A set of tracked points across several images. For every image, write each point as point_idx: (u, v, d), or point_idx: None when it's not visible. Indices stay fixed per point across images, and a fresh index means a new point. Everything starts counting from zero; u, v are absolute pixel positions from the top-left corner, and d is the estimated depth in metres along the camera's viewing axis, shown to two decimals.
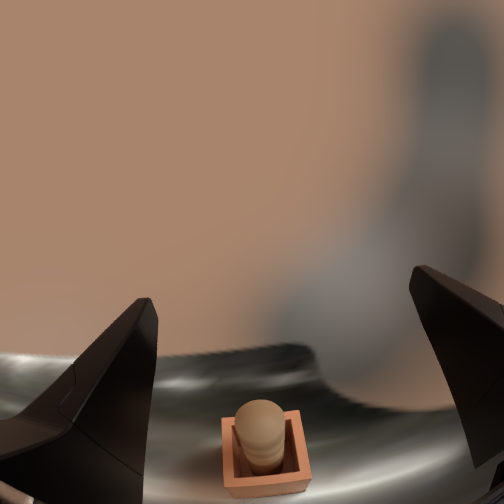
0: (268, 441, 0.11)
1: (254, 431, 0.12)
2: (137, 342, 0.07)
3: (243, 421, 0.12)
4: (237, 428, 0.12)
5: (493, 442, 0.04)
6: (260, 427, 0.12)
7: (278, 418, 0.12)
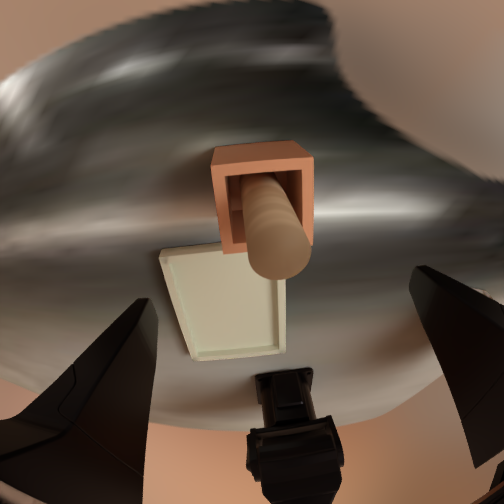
0: (287, 276, 0.12)
1: (272, 268, 0.11)
2: (137, 342, 0.07)
3: (259, 255, 0.11)
4: (252, 264, 0.11)
5: (493, 442, 0.04)
6: (280, 263, 0.11)
7: (303, 252, 0.11)
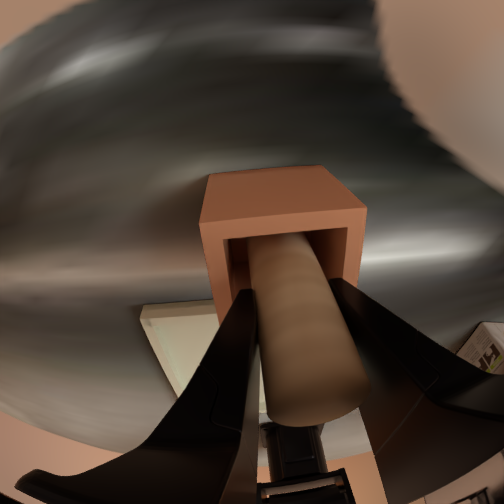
0: (324, 418, 0.06)
1: (305, 417, 0.06)
2: (256, 334, 0.07)
3: (286, 408, 0.06)
4: (272, 417, 0.06)
5: (403, 489, 0.04)
6: (318, 412, 0.06)
7: (357, 396, 0.06)
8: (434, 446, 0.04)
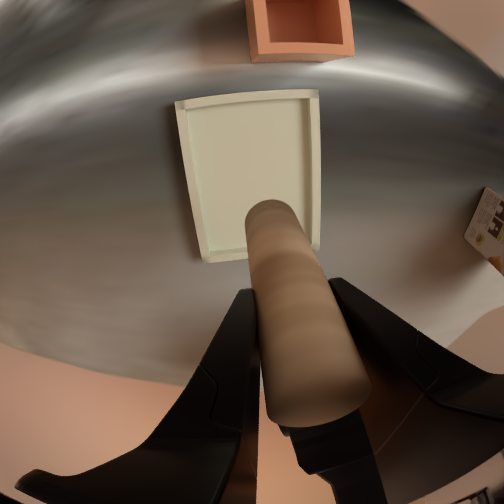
0: (325, 418, 0.06)
1: (306, 417, 0.06)
2: (256, 334, 0.07)
3: (286, 408, 0.06)
4: (273, 418, 0.06)
5: (403, 489, 0.04)
6: (319, 412, 0.06)
7: (357, 396, 0.06)
8: (434, 446, 0.04)
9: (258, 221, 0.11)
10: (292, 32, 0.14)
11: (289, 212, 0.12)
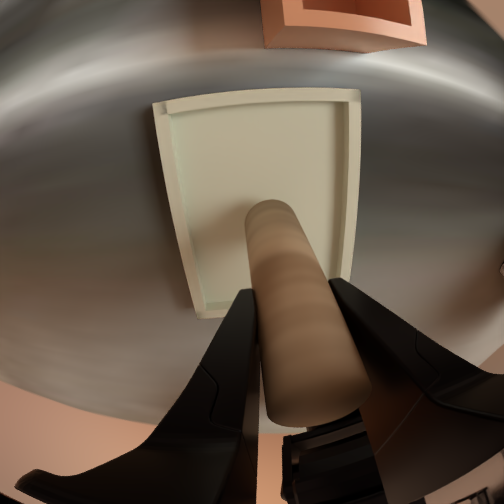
0: (325, 419, 0.06)
1: (306, 418, 0.06)
2: (256, 334, 0.07)
3: (286, 409, 0.06)
4: (273, 418, 0.06)
5: (403, 490, 0.04)
6: (318, 413, 0.06)
7: (357, 397, 0.06)
8: (434, 446, 0.04)
9: (258, 221, 0.11)
10: (323, 8, 0.09)
11: (289, 212, 0.12)
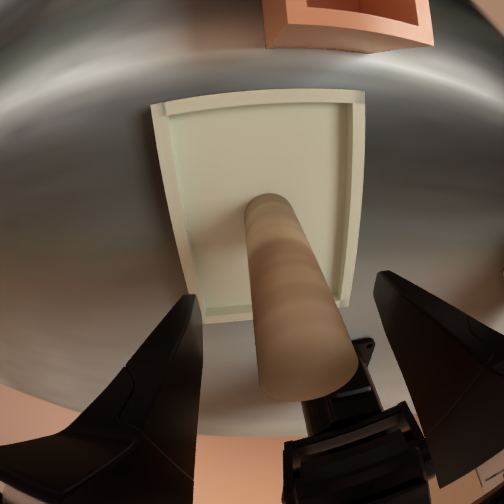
0: (316, 394, 0.07)
1: (296, 390, 0.07)
2: (190, 340, 0.07)
3: (277, 379, 0.06)
4: (265, 389, 0.06)
5: (457, 464, 0.04)
6: (309, 385, 0.07)
7: (345, 370, 0.06)
8: (494, 414, 0.04)
9: (256, 212, 0.12)
10: (326, 7, 0.09)
11: (286, 204, 0.13)
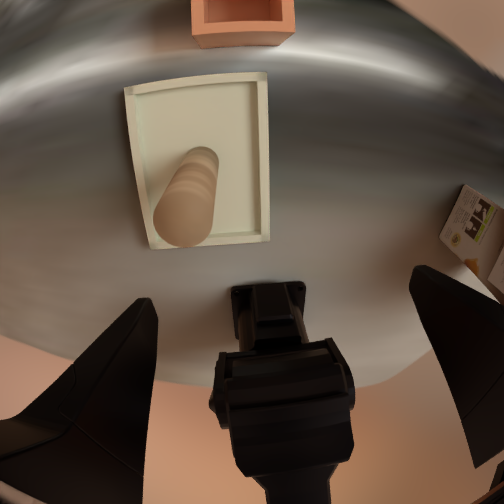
0: (193, 244, 0.12)
1: (177, 234, 0.11)
2: (137, 342, 0.07)
3: (163, 221, 0.11)
4: (158, 230, 0.11)
5: (493, 442, 0.04)
6: (183, 230, 0.11)
7: (204, 219, 0.11)
8: None
9: (186, 155, 0.17)
10: (243, 16, 0.14)
11: (209, 152, 0.17)
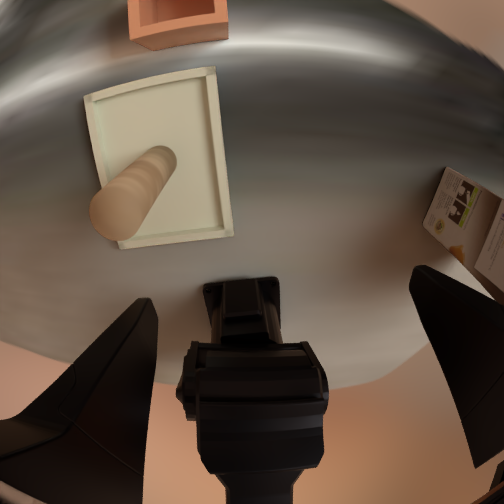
0: (128, 237, 0.12)
1: (112, 228, 0.11)
2: (137, 342, 0.07)
3: (98, 217, 0.11)
4: (95, 226, 0.11)
5: (493, 442, 0.04)
6: (116, 224, 0.11)
7: (133, 212, 0.11)
8: None
9: None
10: (190, 15, 0.13)
11: (163, 150, 0.17)
